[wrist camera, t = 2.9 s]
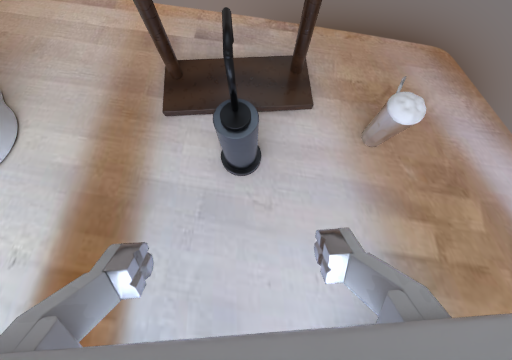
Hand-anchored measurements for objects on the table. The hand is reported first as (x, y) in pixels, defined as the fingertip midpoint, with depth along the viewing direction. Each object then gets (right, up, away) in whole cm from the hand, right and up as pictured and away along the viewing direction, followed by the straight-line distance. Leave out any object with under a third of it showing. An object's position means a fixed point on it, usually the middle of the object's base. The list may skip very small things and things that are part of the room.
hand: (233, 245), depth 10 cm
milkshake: (+19, +10, +24) cm, 32 cm away
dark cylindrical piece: (-1, +8, +23) cm, 24 cm away
